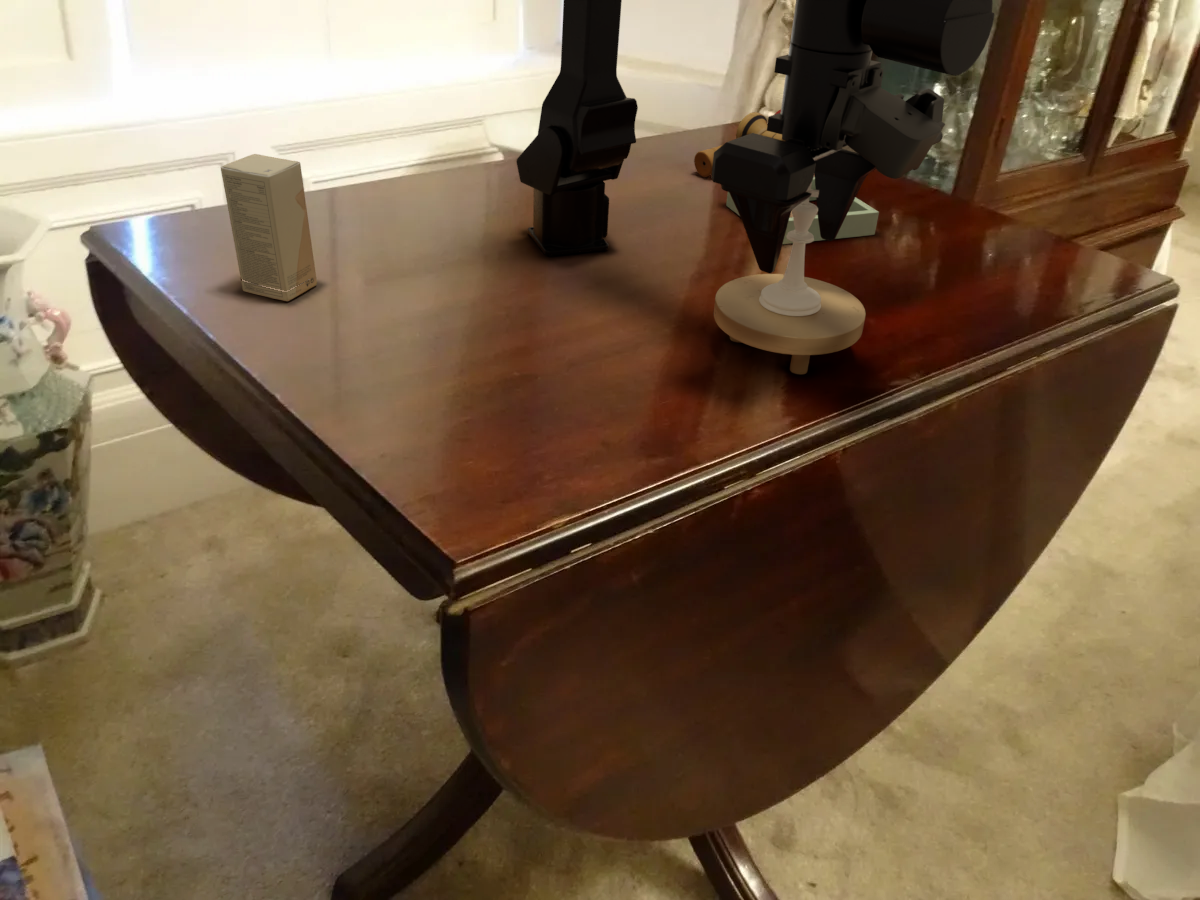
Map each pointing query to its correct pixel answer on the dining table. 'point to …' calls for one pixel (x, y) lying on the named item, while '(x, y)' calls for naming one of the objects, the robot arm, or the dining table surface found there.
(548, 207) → the robot arm
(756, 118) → the kendama
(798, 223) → the chess piece
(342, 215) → the dining table surface
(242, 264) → the box
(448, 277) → the dining table surface
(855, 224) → the square frame
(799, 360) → the stool
